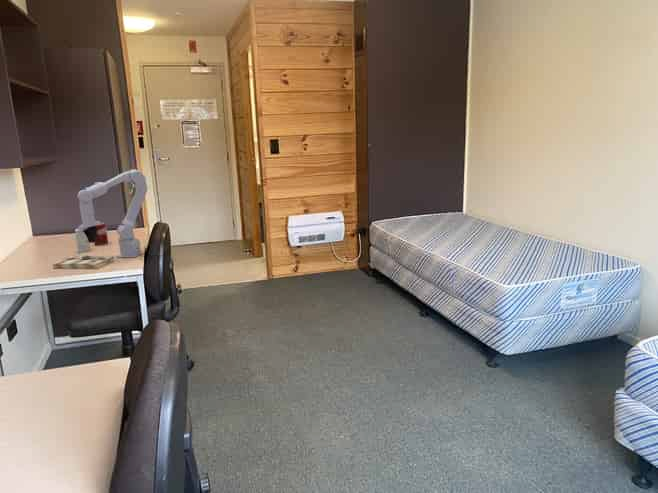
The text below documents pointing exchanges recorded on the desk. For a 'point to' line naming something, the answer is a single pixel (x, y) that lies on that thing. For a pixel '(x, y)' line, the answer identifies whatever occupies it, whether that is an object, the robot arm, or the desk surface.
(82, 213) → the robot arm
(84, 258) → the middle button
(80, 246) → the skincare box
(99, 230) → the soda can
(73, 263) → the button board
